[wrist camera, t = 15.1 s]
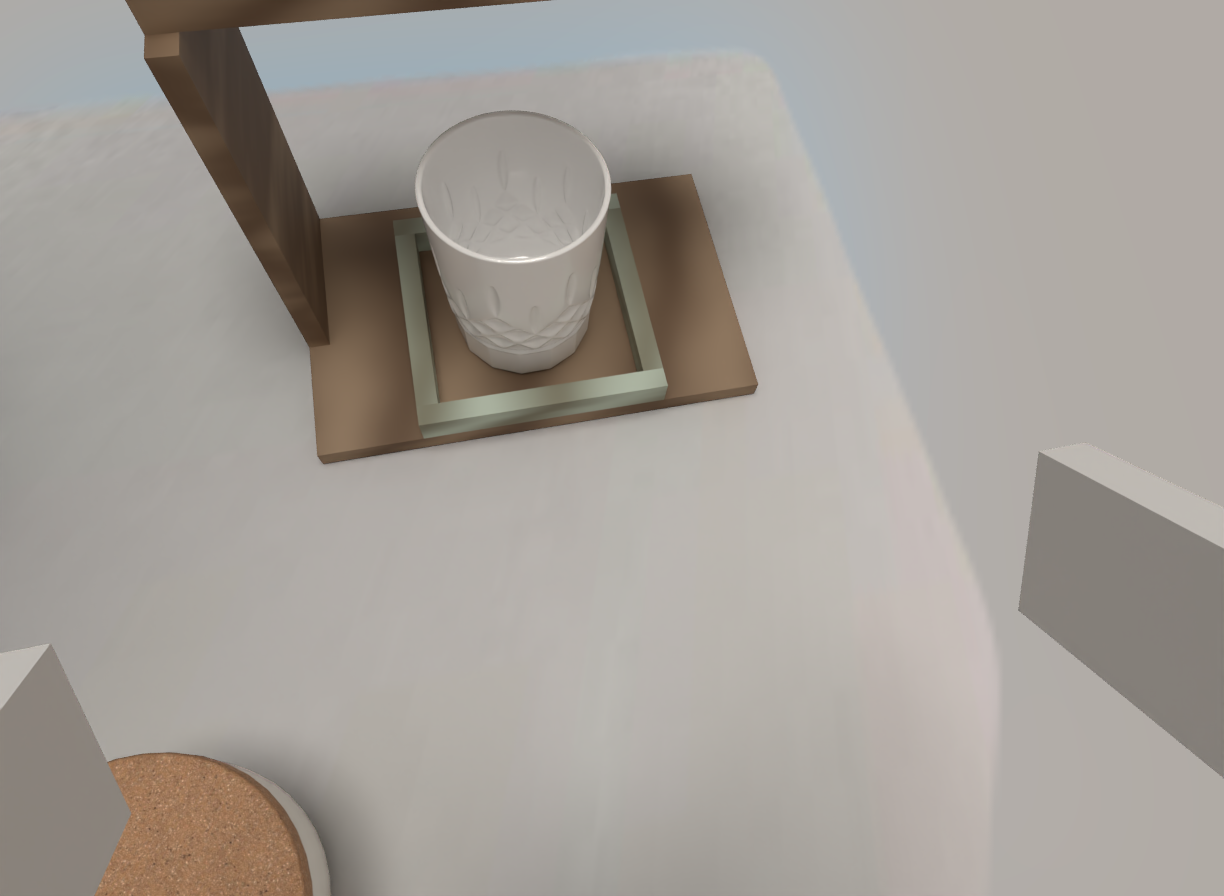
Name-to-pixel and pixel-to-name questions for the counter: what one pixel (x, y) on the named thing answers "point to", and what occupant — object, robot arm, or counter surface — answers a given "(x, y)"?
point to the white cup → (516, 233)
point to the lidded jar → (210, 833)
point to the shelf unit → (408, 277)
